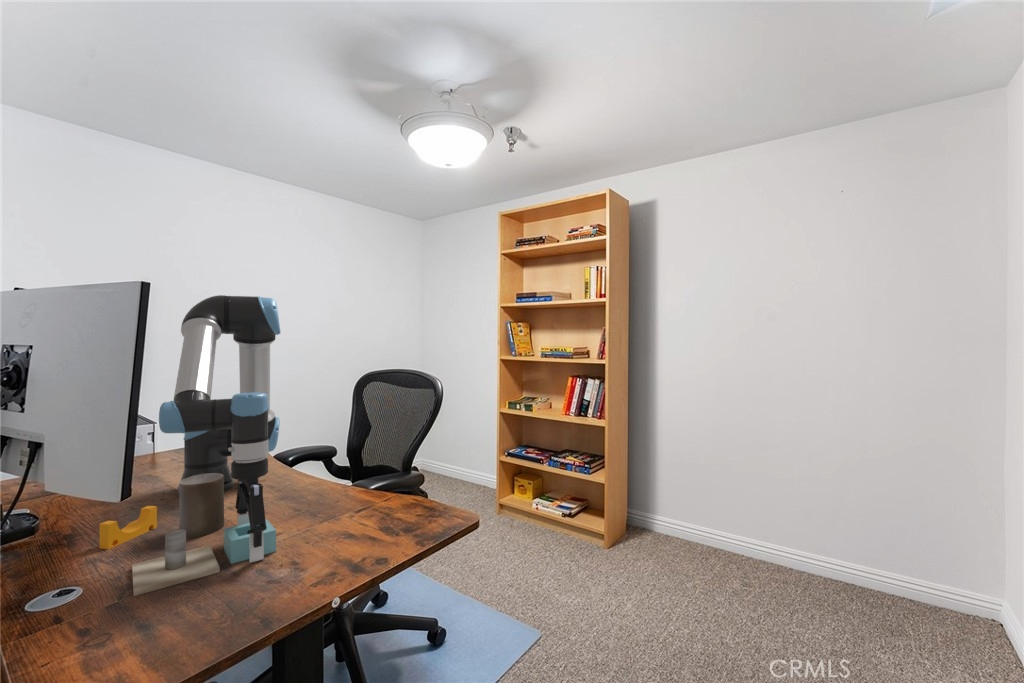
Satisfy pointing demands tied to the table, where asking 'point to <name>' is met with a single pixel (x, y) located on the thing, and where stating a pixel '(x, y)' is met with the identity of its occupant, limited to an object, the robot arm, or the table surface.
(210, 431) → the robot arm
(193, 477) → the pillar candle
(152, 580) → the post block
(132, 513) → the table surface
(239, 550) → the collar
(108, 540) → the pipe clamp
